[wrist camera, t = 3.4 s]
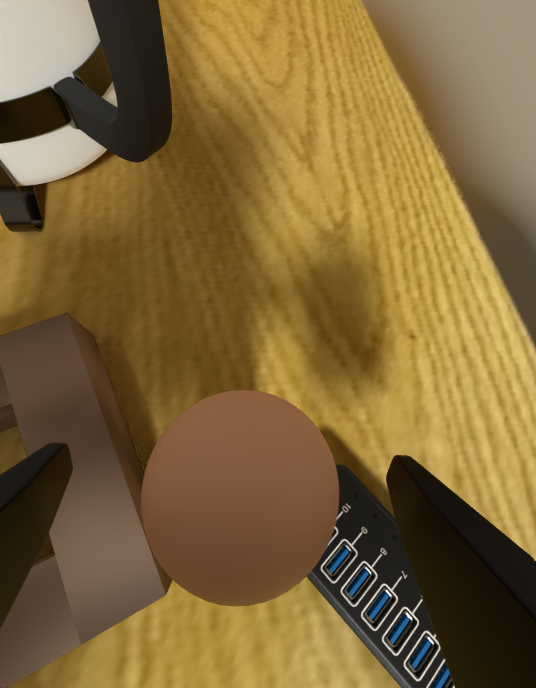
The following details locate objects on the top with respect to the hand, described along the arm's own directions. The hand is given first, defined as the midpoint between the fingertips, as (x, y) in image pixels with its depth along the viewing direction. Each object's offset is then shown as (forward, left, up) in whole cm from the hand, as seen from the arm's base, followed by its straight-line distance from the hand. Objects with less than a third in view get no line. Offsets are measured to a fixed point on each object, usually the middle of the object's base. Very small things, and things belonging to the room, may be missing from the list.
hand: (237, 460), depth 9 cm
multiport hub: (-10, -4, -8) cm, 14 cm away
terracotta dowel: (0, 0, -8) cm, 8 cm away
